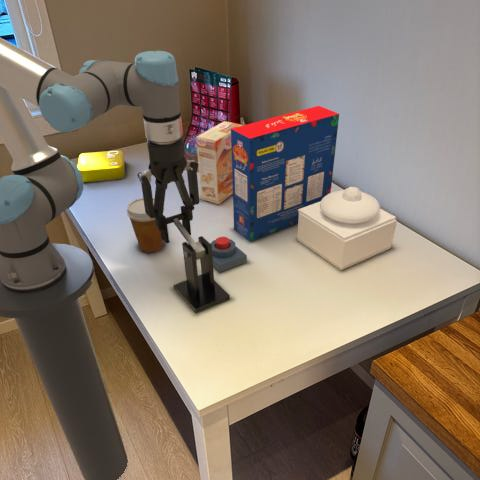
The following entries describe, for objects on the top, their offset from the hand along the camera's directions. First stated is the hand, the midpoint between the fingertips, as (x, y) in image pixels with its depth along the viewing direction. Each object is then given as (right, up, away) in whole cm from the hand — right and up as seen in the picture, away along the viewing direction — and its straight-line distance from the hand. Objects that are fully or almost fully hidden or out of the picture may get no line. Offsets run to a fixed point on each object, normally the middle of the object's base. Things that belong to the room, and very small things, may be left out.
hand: (176, 236), depth 114 cm
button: (+11, -1, +9) cm, 14 cm away
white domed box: (+42, +1, +15) cm, 45 cm away
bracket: (+6, -14, 0) cm, 15 cm away
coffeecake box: (+10, +21, +39) cm, 45 cm away
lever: (+3, -1, -5) cm, 6 cm away
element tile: (-32, +31, +53) cm, 69 cm away
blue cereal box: (+27, +9, +25) cm, 38 cm away
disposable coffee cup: (-9, 0, +16) cm, 19 cm away
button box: (+11, -4, +11) cm, 16 cm away
